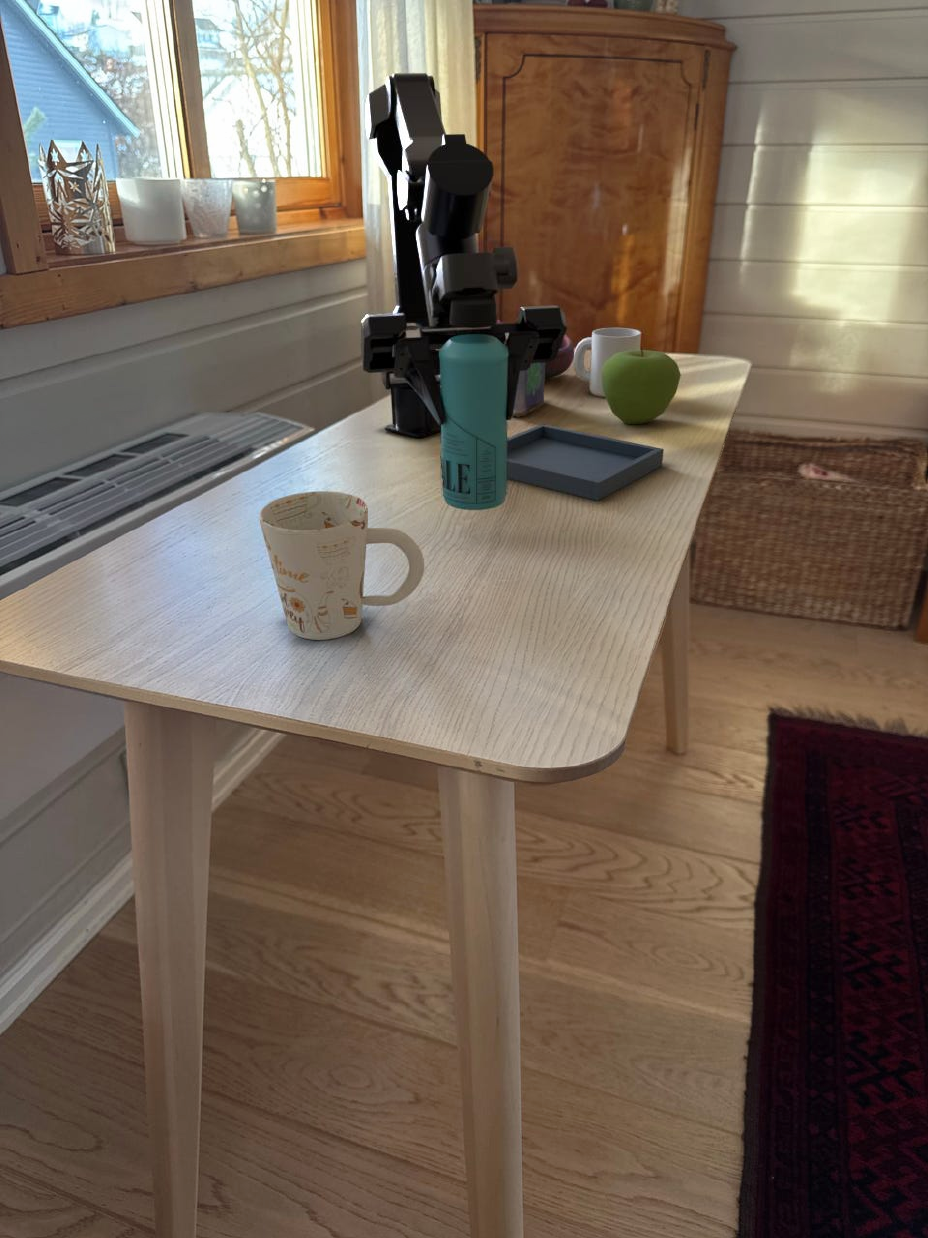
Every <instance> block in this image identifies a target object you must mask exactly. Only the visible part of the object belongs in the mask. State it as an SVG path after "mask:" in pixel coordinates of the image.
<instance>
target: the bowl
mask: <svg viewBox="0 0 928 1238" xmlns="http://www.w3.org/2000/svg"><path fill="white" fill-rule="evenodd" d="M497 324H505V323H504V322H502V321H501V320H499V319H497ZM574 353H575V347H574V343H573V341H572V339H571V338H570V337H569V336H568V335H567V334H565V336H564V338H563V341H562V343H561V346H560V348H559V351H558V353H557V356H556V358H555V359H554V360H552V361H550V362H545V380H549V379H553V378H556V377H557V376H560V375H561V374H564V373H565V372H566V371H567V370H568V369H569V368H570V367H571V366H572V364H573V362H574Z"/></svg>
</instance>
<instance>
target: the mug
mask: <svg viewBox="0 0 928 1238" xmlns="http://www.w3.org/2000/svg"><path fill="white" fill-rule="evenodd" d="M258 517H259V518H258V519H259V523H260V528H261V529H260V530H261V532H262V535H263V539H264V544H265V547H266V550H267V554H268V558H269V562H270V565H271V568H272V572H273V576H274V579H275V583H276V586H277V590H278V594H279V599H280V601H281V606H282V609H283V612H284V617H285V619H286V623H287V626H288V628H289V630H290V632H292V633H293V634H294V635H295V636H298V637H299V638H302V639H306V640H312V641H313V640H314V641H327V640H333V639H337V638H341V637H344V636H346V635H349V634H350V633H352V632H354V631H356V630H357V629H358V628H359V626H360V624H361V621H362V617H363V606H367V607H368V606H369V607H384V606H392V605H396V604H398V603H399V602H401V601H404V599H406V598H408V597H409V596H410V595H411V594H412V593H413V592H414V591H415V590H416V589H417V587H419V585H420V583H421V581H422V579H423V576H424V574H425V559H424V555H423V552H422V550H421V547H419V545H418V544H417V542H416V541H415V540H414V539H413V538H412V537H411V536H410V535H408V534H407V533H406V532H405V531H403V530H401V529H398V528H391V527H368V524H369V509H368V505H367V503H366V502H365V501H364V500H363V499H361V498H360V497H358V496H356V495H353V494H350V493H345V492H340V491H327V490H321V491H306V492H304V491H303V492H298V493H293V494H288V495H285V496H281V497H279V498H277V499H274V500H272V501H271V502H269V503H267V504H266V505H264V506H263V507H262V509H261V510H260V512H259V516H258ZM373 544H392V545H394V546H396V547H397V548H398V549H400V550H401V552H402V553H403V554H404V555H405V557H406V558H407V559H406V560H407V562H408V572H407V574H406V577H405V579H404V580H403V582H402V584H400V586H399V587H398V588H397V589H396V590H395V591H393V592H392V593H390V594H374V595H373V594H372V595H371V594H370V595H364V588H365V586H364V585H365V570H366V555H367V545H373Z"/></svg>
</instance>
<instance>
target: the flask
mask: <svg viewBox="0 0 928 1238" xmlns="http://www.w3.org/2000/svg"><path fill="white" fill-rule="evenodd" d="M544 404H545V362H544V363H531V366H530V368H529V369H527V370H525V371H520V374H519V379H518V385H517V392H516V398H515V404H514V410H513V415H512V418H513V417H517V418H519V417H521V416H522V417H523V416H526V415H527V414H528V413H531V412H533V411H535V409H537V408H538V407H541V406H542V405H544Z"/></svg>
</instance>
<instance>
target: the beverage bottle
mask: <svg viewBox="0 0 928 1238" xmlns="http://www.w3.org/2000/svg"><path fill="white" fill-rule="evenodd" d="M495 301H496V299H495V300H493V299H491V298H486V297H461V298H456V299H453V300H452V302H451V313H450V324H451V325H453V326H456V327H464V328H482V327H489V326H493V325H496V324H497V320H498V315H497V303H496V304H495ZM508 355H509V352H508V349H507V348H506V347H505V346H504V345H503V344H502V343H501V342H500V341H499V340H498V339H497V338H496V337H494V336H490V335H482V334H468V335H459V336H454V337H452V338H450V339H449V340H448V341H447V342H446V343H445V344H444V345H443V347H442V348H441V349H440V351H439V358H440V384H441V385H440V396H441V400H442V404H443V412H444V424H443V425H441V430H440V435H441V436H440V437H439V438H440V443H439V444H441V451H439V452H440V453H439V455H440V469H441V474H440V478H441V489H442V493H441V495H442V497H443V500H444V502H445V504H447V505H448V506H450V507H453V508H455V509H458V510H465V511H482V510H483V511H485V510H490V509H494V508H496V507H499V506H501V505H503V504H504V503H505V500H506V498H507V496H508V494H509V492H508V478H507V465H509V464H507V453H509V452H508V448H509V446H508V443H509V441H507V438H509V437H510V436H509V435H508V430H509V427H508V426H509V425H508V424H509V423H508V420H507V367H508ZM508 440H509V439H508ZM508 457H509V454H508ZM508 463H509V460H508ZM508 468H509V467H508ZM508 472H509V471H508Z"/></svg>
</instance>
